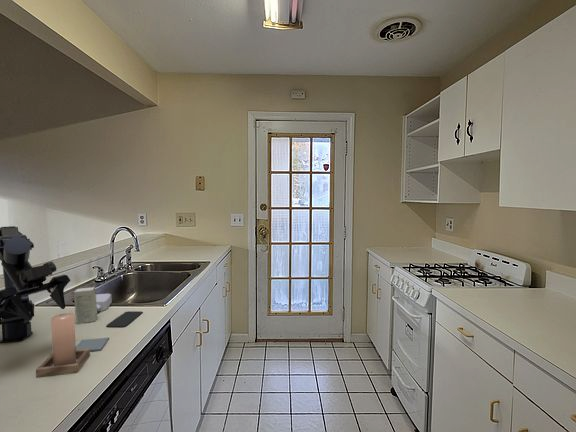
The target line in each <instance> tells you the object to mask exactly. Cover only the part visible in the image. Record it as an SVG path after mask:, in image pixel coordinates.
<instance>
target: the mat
mask: <svg viewBox="0 0 576 432" xmlns="http://www.w3.org/2000/svg"><path fill="white" fill-rule="evenodd" d="M109 340H110V337H98V338H88V339H82V340H80V341H79V343H78V344H77V345H75V346H76V350H81V349H90V353H91V352H101V351H102V350H104V348H105V347H106V344H107V343H108V341H109Z"/></svg>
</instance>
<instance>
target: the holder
mask: <svg viewBox="0 0 576 432" xmlns="http://www.w3.org/2000/svg"><path fill="white" fill-rule="evenodd" d="M90 356H91V352H90V349H81V350H76V362H75V364H68V365H59V366H53V352H52V353H51V354H50V355H49V356H48V357H47V358H46V359H45V360H44V361H43V362H42V363H41V364H40V365H39V366H38V367H37V368H36V369H35V377H36V378H42V377H52V376H58V375H66V374H67V375H68V374H76V373H78V372H79V371H80V370H81V368H82V367H83V366H84V364H85V363H86V362H87V360H88V359H89V357H90Z"/></svg>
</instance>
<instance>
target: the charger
mask: <svg viewBox="0 0 576 432" xmlns="http://www.w3.org/2000/svg"><path fill="white" fill-rule="evenodd" d="M112 300H113V299H112V294H111V293H99V294H98V293H96V305H97V312H103V311H106V310H107V309H108V308H109V307H110V306H111V304H112Z"/></svg>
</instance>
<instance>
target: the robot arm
mask: <svg viewBox="0 0 576 432" xmlns="http://www.w3.org/2000/svg"><path fill="white" fill-rule="evenodd" d="M30 239H31V238H28V237H27V235H26V234H23V233H22V232H21V231H19V228H18V226H16V225H13V226H12V225H11V226H10V225H9V226H1V227H0V262H1V267H2V274H3V283H4V289H0V326H1V336H2V337H1V339H0V344H2V343H3V344H4V343H14V342H22V341H25V340H26V339H27V338H28V337H29V336H31V335H32V334H33V331H32V319H33V317H35V303H33V301H32V300H31V299H30V298H29V295H34V294H37V293H40V292H43V291H47V293H48V294H49V297H50V298H51V299H52V300H53V301H54V303H56V305H57V306H58V307H59V308H60V309H61V310H65V308H66V301H65V294H64V291H65V288H66V287H67V286H68V284H69V283H70V282H71V279H70V277H69V275H68V274H61V275H56V276H53V277H52V278H51V279H50V281H49V282H46V280H47V277H49V276H52V275H53V273H55V272H56V271H57V266H56V265H55V263H54V262H53V261H47V262H45V263H43V264H42V265H38V266H32V264H31V263H30V262H29V259H30V254H31V253H30V252H31V251H32V250H33V248H35V245H34V242H33V241H32V240H30ZM43 282H46V283H43Z"/></svg>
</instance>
